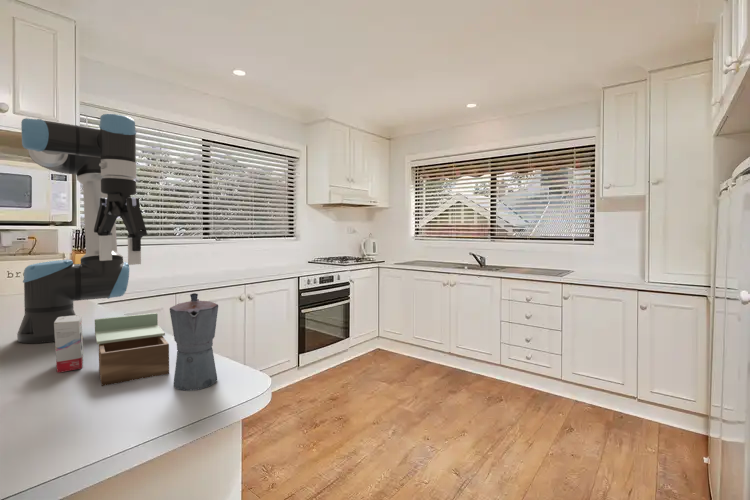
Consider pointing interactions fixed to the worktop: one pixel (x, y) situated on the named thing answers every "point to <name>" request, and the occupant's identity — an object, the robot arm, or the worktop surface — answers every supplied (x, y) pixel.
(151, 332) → the lid
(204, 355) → the moka pot
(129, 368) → the walnut box
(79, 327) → the ink box
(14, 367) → the worktop surface
